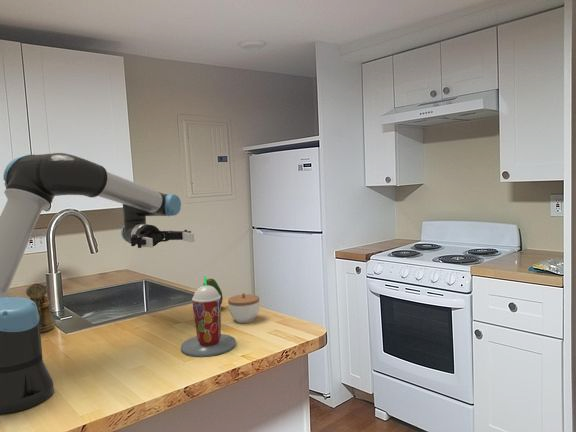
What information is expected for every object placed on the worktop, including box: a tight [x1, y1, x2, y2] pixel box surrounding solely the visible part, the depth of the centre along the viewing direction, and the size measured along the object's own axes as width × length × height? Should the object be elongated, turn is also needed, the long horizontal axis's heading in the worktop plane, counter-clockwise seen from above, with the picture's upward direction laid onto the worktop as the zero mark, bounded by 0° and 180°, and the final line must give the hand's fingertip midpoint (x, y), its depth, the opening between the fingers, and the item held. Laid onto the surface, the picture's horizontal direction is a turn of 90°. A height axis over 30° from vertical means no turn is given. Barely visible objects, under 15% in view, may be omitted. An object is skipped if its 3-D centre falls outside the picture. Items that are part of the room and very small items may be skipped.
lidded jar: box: [227, 292, 260, 324], centre depth 161 cm, size 11×11×9 cm
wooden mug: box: [25, 283, 56, 334], centre depth 159 cm, size 9×14×18 cm, turn 28°
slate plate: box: [180, 333, 237, 358], centre depth 138 cm, size 16×16×1 cm
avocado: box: [202, 278, 224, 305], centre depth 175 cm, size 8×8×12 cm
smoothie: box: [191, 275, 222, 346], centre depth 138 cm, size 8×8×20 cm
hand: (172, 240), depth 143 cm, fingers open, 13 cm apart
